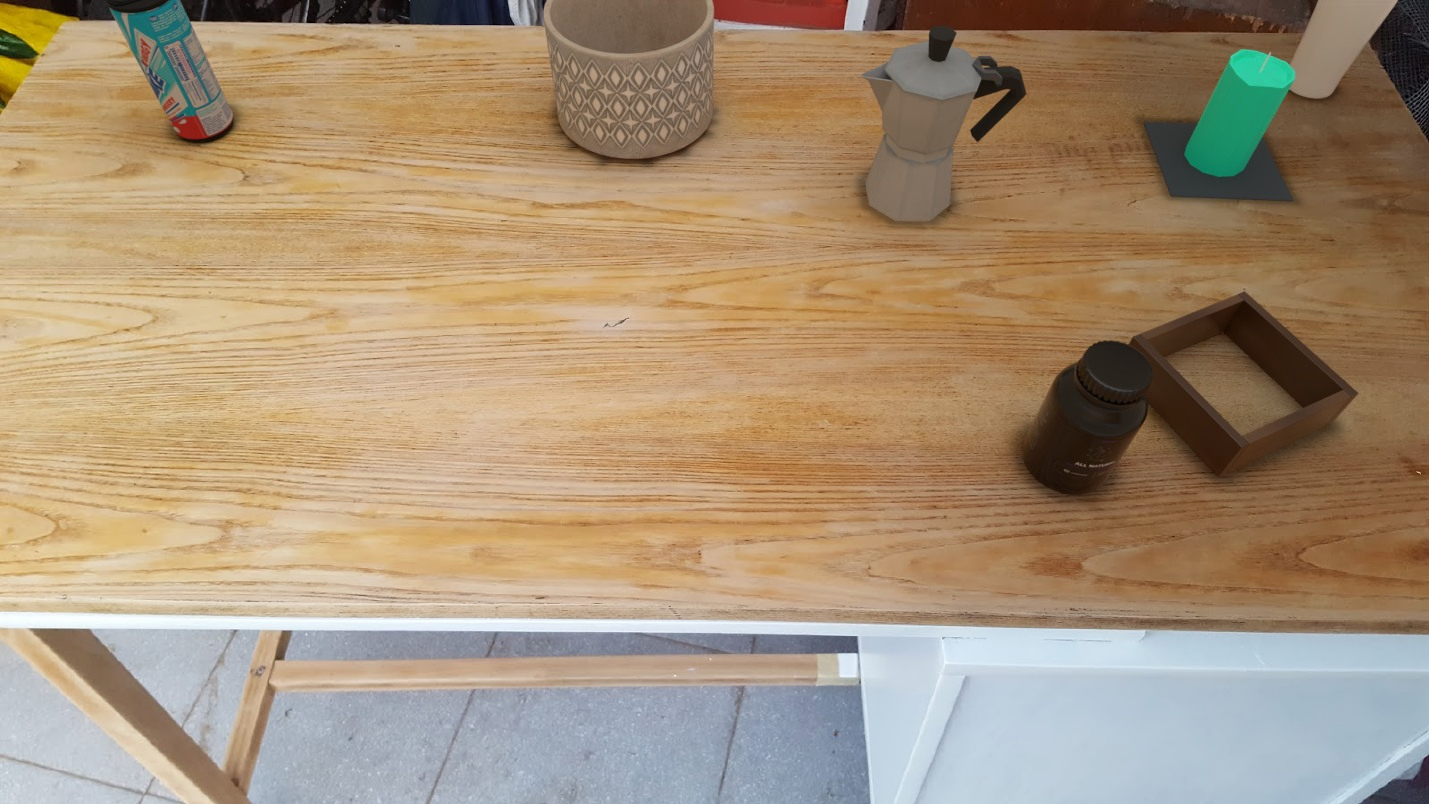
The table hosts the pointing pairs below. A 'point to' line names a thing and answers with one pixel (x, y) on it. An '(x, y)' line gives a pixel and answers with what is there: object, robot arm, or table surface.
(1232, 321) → the brown wooden tray
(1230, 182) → the mat
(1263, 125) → the candle
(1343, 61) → the cream tall cylinder
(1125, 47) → the table surface
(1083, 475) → the supplement bottle
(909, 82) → the coffee maker
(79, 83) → the table surface
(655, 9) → the planter
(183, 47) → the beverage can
